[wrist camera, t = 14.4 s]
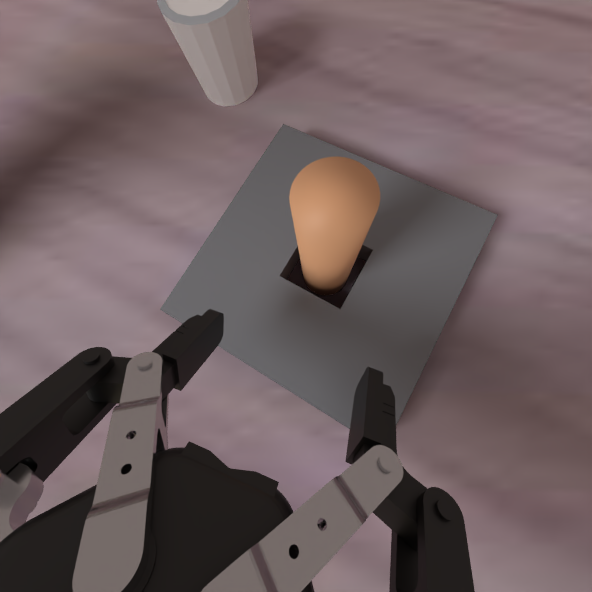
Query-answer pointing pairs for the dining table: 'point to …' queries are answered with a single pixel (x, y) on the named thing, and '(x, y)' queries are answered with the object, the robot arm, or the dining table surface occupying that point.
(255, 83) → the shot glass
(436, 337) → the peg board
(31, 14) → the dining table surface
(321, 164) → the peg
